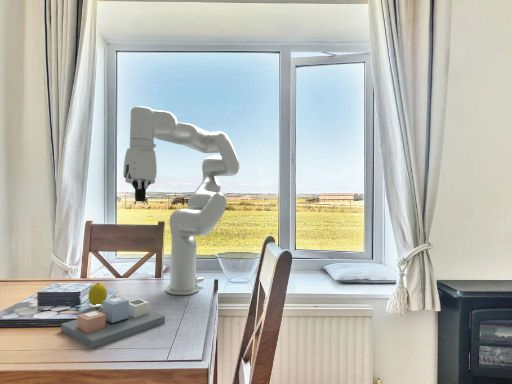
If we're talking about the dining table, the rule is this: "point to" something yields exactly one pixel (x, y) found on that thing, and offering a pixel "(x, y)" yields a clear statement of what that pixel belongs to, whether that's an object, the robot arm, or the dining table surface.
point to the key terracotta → (91, 321)
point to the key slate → (115, 309)
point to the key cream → (138, 308)
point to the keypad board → (113, 329)
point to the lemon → (97, 294)
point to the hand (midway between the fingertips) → (140, 200)
